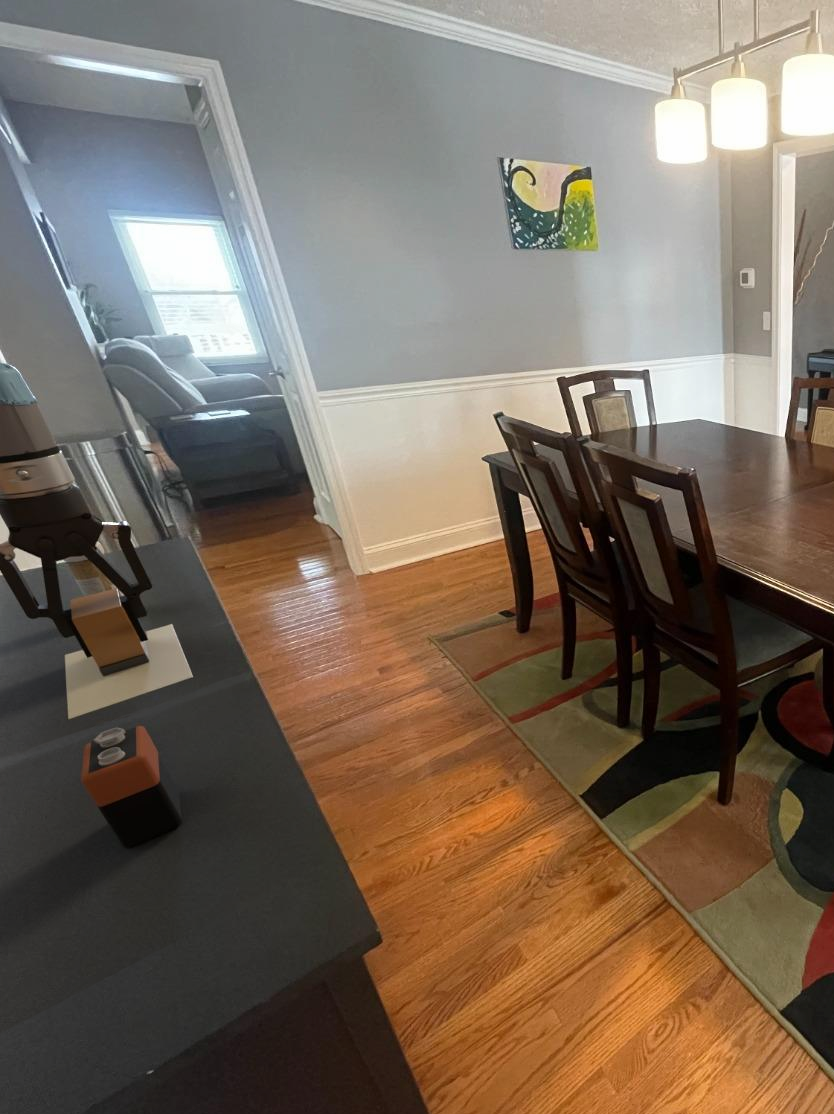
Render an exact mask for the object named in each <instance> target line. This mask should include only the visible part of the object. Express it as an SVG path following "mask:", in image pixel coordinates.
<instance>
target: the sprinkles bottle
mask: <svg viewBox="0 0 834 1114" xmlns="http://www.w3.org/2000/svg"><path fill="white" fill-rule="evenodd" d="M95 546H96V547H97V548H98V549H99V550H100V551H101V553H102V554H103V555H104V556H105V557H106V554H105V549H104V547H103V545H102V544H101V542H100V541H97V543H96V545H95ZM63 562H65V563H66V565H68V568H69V569H70V571H71V573H72V576H73V577H74V580H75V582H76V584H77V585H78V588H79V589H80V591H81V593H82V595H83V597H84V596H88V595H92V594H96V593H100V592H104V591H108V590H113V589H118V588H117V587H116V586H115V585H114V584H113V583H112V582H111V581H110V580H109V579H108V578H107V577H106V576H105V575H104V574H103V573H102V572H101V571H100V570H99V569H98V568H97V567H96V566H95V565H94V564H93V563H92V562H91V561H89V560H88V559H87V558H86V557H85V556H79V557H68V558H66V559H64V560H63ZM118 590H119V589H118ZM119 592H120V594H121V596H124V594H123V593H122V592H121V591H120V590H119Z"/></svg>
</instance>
